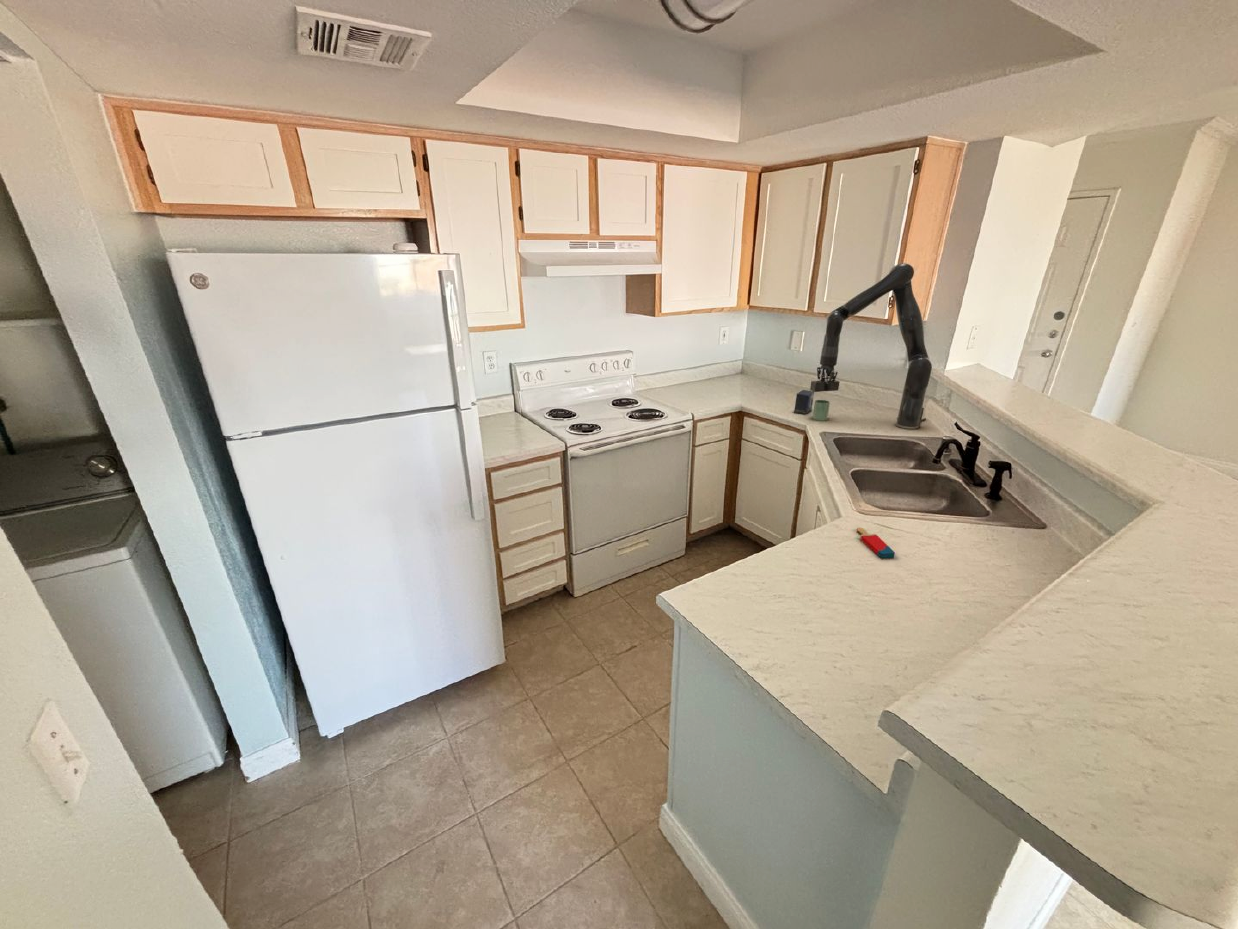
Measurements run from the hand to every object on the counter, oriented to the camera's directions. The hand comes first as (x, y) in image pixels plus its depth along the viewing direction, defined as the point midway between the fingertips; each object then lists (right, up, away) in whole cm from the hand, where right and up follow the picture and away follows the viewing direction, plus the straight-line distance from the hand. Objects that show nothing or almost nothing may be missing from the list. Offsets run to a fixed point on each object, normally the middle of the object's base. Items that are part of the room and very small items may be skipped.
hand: (824, 389), depth 248 cm
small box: (-4, -9, +18) cm, 21 cm away
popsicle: (-30, -59, -107) cm, 126 cm away
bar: (0, 0, 0) cm, 0 cm away
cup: (0, -14, +6) cm, 15 cm away
